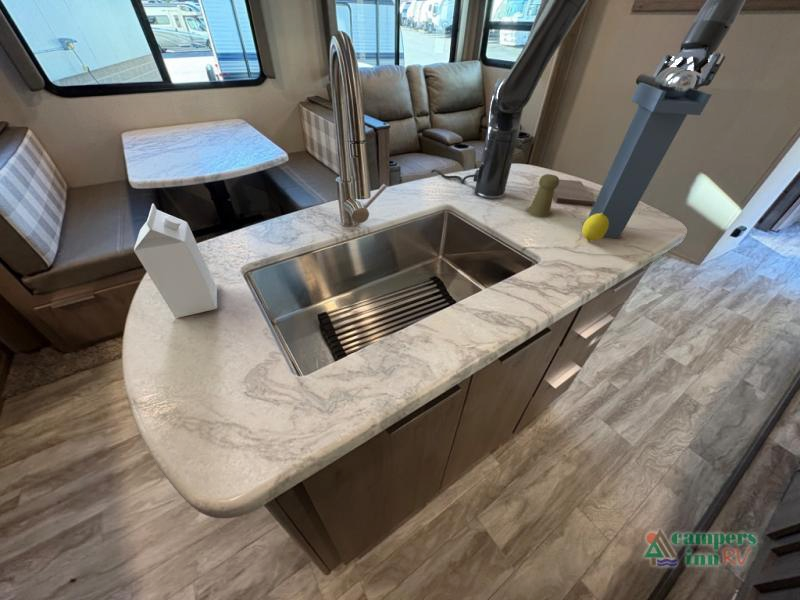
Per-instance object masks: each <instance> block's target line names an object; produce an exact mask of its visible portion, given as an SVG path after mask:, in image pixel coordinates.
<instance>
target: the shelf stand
mask: <svg viewBox="0 0 800 600" xmlns="http://www.w3.org/2000/svg"><path fill="white" fill-rule="evenodd" d="M665 94H666V91H663V90H661V89H658V88H655V87H653V86H650V85H647V84H645V83H639V85H637V87H636V89H635V91H634V94H633V96H632V99H631V102H632V103H634V104H636V105H638V107H637V109H636V111H635V113H634V115H633V118H632V120H631V123H630V125H629V127H628V129H627V131H626V134H625V135H624V137H623V140H622V142H621V144H620V146H619V149H618V151H617V154H616V155H615V158H614V160H613V161H612V164H611V166H610V168H609V171H608V173H607V174H606V177H605V180H604V182H603V184H602V186H601V188H600V191H599V192H598V194H597V197H596V199H595V200H594V203H593V205H592V208H591V210H590V213H589V214H588V217H587V219H588V218H589V217H590V216H592V215H594V214H600V213H603V214H604V215H605V216H606V217H607V218H608V220H609V226H608V230H607V232H606V233H605V235H604V236H603V237H602V238H610V239H611V238H612V239H620V237H621V236H622V234H623V232H624V230H625V228H626V226H627V225H628V223H629V221H630V219H631V218H632V215H633V213H634V212H635V211H636V208H637V206H638V205H639V203H640V201H641V199H642V198H643V196H644V194H645V192H646V190H647V188H648V187H649V186H650V183H651V181H652V179H653V177H654V176H655V174H656V172H657V170H658V169H659V167H660V165H661V163H662V161H663V159H664V157H665V156H666V155H667V152H668V150H669V148H670V147H671V145H672V143H673V141H674V139H675V138H676V136H677V134H678V132H679V131H680V128H681V126H682V125H683V123H684V121H685V119H686V118H687V116H689V115H690V116H701V114H702V113H703V111H704V110H705V107H706V105H707V104H708V102H709V100H710V99H711V98H712V93H709V92H706V91H703V90H699V89H697V90H696V89H692V90H691V91H690V92H689V93H688V94H687V95H685V96H683V97H681V98H677V99H671V98H668V97H666V96H665Z"/></svg>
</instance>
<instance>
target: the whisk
mask: <svg viewBox="0 0 800 600" xmlns="http://www.w3.org/2000/svg"><path fill="white" fill-rule="evenodd" d="M639 83H645V84H647V85H650V86H653V87H655V88H658V89H661V90H663V91H666V94H665V96H666V97H668V98H671V99H677V98H681V97H683V96H685V95H687V94H688V93H689V92H690V91H691V90H692V89H693V87H694V86H695V83H696V74H695V73H694V72H693V71H692V70H689V69H685V68H680V67H669V68H667V69H665V70H663V71H662V72H661V73H660V74H659V75H658V76H657V77H654V76H653V75H651V74H647V73H641V74H639V75H637V77H636V79H635V84H636V86H638V85H639Z"/></svg>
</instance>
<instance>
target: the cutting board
mask: <svg viewBox="0 0 800 600" xmlns="http://www.w3.org/2000/svg"><path fill="white" fill-rule="evenodd" d="M553 198H554V200H555V203H558V204H569V205H578V206H588V207H589V206H590V207H593V206H594V204H595V200H594V199H593V197H592V196H591V194H590V192H589V191H588V190H587V188H586V187H585V185H584V183H583V182H582V181H581V180H572V179H560V178H559V184H558V186H557V188H555V190H554V194H553Z"/></svg>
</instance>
